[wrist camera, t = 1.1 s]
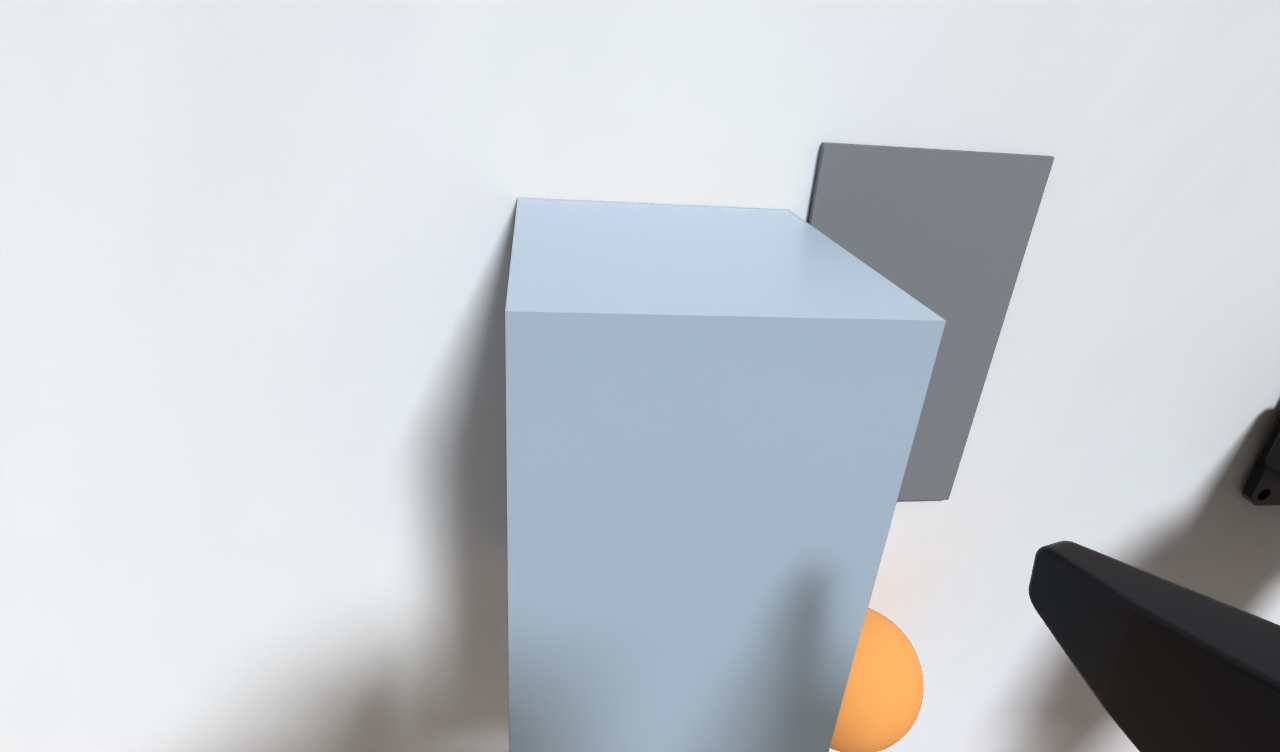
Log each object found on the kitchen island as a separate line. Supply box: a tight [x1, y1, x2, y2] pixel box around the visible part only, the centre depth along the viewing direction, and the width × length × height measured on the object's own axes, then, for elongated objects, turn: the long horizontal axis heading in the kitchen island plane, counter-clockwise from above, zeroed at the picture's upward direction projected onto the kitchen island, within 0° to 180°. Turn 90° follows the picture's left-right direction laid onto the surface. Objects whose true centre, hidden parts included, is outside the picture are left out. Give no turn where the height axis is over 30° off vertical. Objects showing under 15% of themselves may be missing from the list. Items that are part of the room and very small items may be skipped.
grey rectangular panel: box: [808, 142, 1054, 501], centre depth 23 cm, size 7×12×1 cm, turn 176°
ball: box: [830, 608, 923, 752], centre depth 26 cm, size 5×5×5 cm
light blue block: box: [505, 198, 946, 752], centre depth 19 cm, size 8×12×9 cm, turn 176°
